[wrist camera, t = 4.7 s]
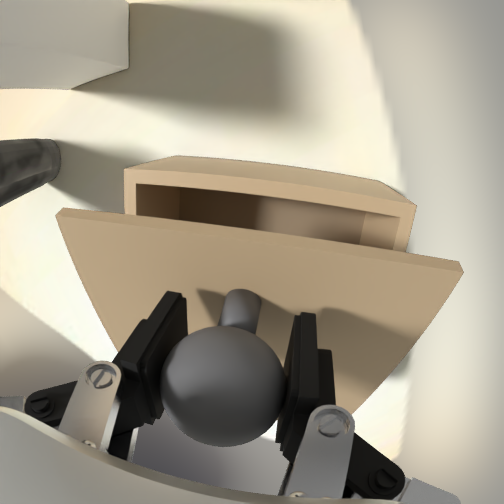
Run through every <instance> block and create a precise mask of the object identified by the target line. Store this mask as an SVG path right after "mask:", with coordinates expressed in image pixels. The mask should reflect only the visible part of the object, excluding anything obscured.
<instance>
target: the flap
mask: <svg viewBox="0 0 504 504" xmlns="http://www.w3.org/2000/svg"><path fill="white" fill-rule="evenodd" d="M55 216H56V219H57V222H58V225H59V228H60V230H61V233H62V236H63V238H64V241H65V243H66V246H67V249H68V251H69V254H70V256H71V258H72V261H73V263H74V265H75V268H76V270H77V272H78V275H79V277H80V279H81V281H82V284H83V286H84V288H85V290H86V292H87V294H88V296H89V298H90V300H91V303H92V305H93V307H94V309H95V311H96V313H97V314H98V316H99V318H100V320H101V322H102V324H103V326H104V328H105V330H106V332H107V333H108V335H109V337H110V339H111V341H112V342H113V344H114V346H115V348H116V349H117V351H118V352H119V351H120V349H121V348H122V346H123V345H124V344H125V342H126V341H127V339H128V338H129V336H130V335H131V333H132V332H133V330H134V329H135V328H136V326H137V325H138V323H139V322H140V321H141V320H142V319H148V317H149V316H150V314H151V313H152V311H153V310H154V308H155V307H156V306H157V304H158V303H159V301H160V300H161V298H162V297H163V296H164V294H165V293H166V292H167V291H173V292H179V293H182V296H183V297H185V298H186V299H187V321H188V335H187V336H186V337H184V338H183V339H182V340H181V341H180V342H178V343H177V344H176V345H175V346H174V348H173V349H172V350H171V351H170V353H169V354H168V356H167V357H166V360H165V362H164V364H163V367H162V371H161V374H160V395H161V400H162V403H163V406H164V408H165V410H166V412H167V414H168V416H169V418H170V419H171V420H172V422H173V423H174V424H175V425H176V426H177V427H178V428H179V430H181V431H182V432H183V433H184V434H186V435H187V436H189V437H191V438H192V439H194V440H196V441H198V442H201V443H204V444H207V445H212V446H218V447H230V446H237V445H242V444H245V443H248V442H250V441H252V440H254V439H256V438H258V437H259V436H261V435H262V434H264V433H265V432H266V431H267V430H268V429H269V428H270V427H271V426H272V425H273V424H274V422H275V421H276V420H278V417H279V415H280V413H281V411H282V408H283V405H284V402H285V396H286V377H285V373H284V369H283V367H284V362H285V358H286V353H287V349H288V344H289V340H290V335H291V330H292V326H293V321H294V316H295V315H300V313H301V312H307V313H315V314H316V325H317V346H318V349H328V350H331V351H332V359H333V370H334V383H335V397H336V406H339V407H342V408H344V409H345V410H347V411H348V412H349V413H350V414H351V415H352V414H353V413H354V412H355V411H356V410H357V409H358V408H359V407H360V406H361V405H362V404H363V403H364V402H365V401H366V399H367V398H368V397H369V396H370V395H371V394H372V393H373V392H374V391H375V390H376V389H377V388H378V387H379V386H380V384H381V383H382V382H383V381H384V380H385V379H386V378H387V377H388V376H389V374H390V373H391V372H392V371H393V370H394V369H395V367H396V366H397V365H398V364H399V363H400V361H401V360H402V359H403V358H404V357H405V355H406V354H407V353H408V352H409V350H410V349H411V348H412V347H413V345H414V344H415V343H416V342H417V340H418V339H419V338H420V336H421V335H422V334H423V332H424V331H425V330H426V328H427V327H428V326H429V324H430V323H431V321H432V320H433V319H434V317H435V316H436V314H437V313H438V312H439V310H440V308H441V307H442V306H443V304H444V303H445V301H446V300H447V298H448V297H449V295H450V294H451V292H452V291H453V289H454V287H455V286H456V284H457V283H458V281H459V279H460V278H461V276H462V275H463V273H464V272H463V270H462V267H461V265H460V263H459V262H458V261H453V260H447V259H441V258H435V257H430V256H424V255H417V254H412V253H406V252H400V251H393V250H387V249H381V248H375V247H368V246H362V245H355V244H349V243H342V242H336V241H329V240H322V239H315V238H309V237H302V236H295V235H288V234H280V233H273V232H266V231H259V230H251V229H244V228H236V227H228V226H221V225H213V224H205V223H197V222H189V221H181V220H172V219H164V218H156V217H147V216H138V215H129V214H120V213H111V212H102V211H92V210H82V209H72V208H62V209H61V210H60V211H59V212H58V213H57V214H56V215H55Z"/></svg>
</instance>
